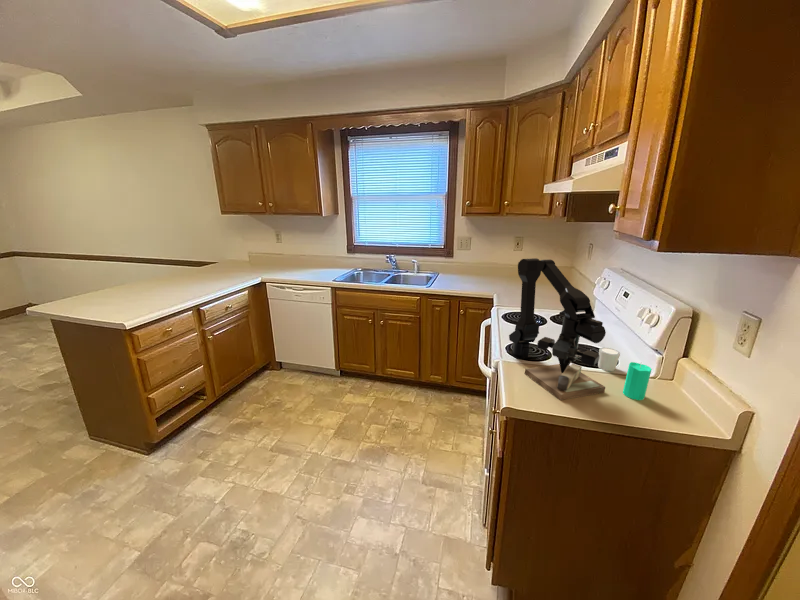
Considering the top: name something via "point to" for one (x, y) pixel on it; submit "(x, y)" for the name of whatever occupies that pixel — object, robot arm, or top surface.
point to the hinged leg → (569, 377)
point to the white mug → (608, 359)
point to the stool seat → (550, 377)
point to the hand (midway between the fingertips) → (562, 372)
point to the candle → (636, 381)
